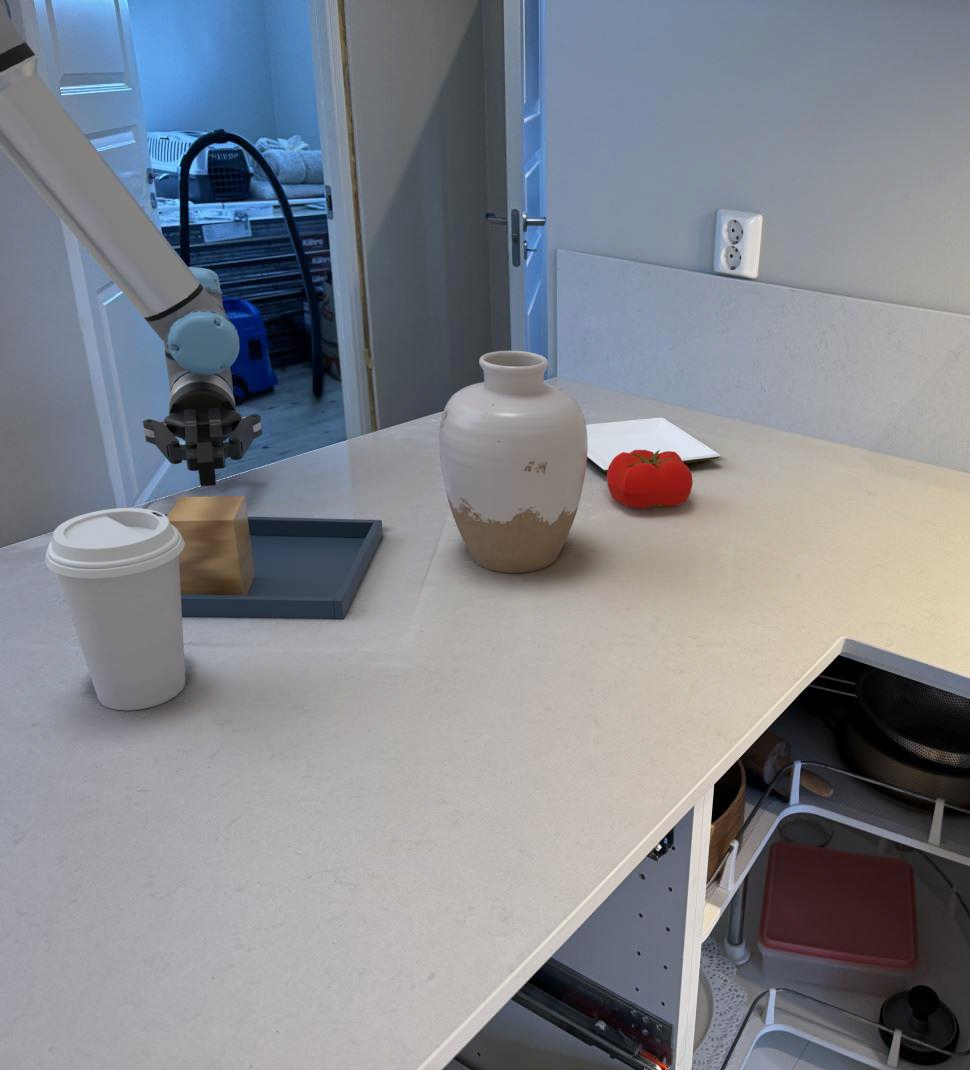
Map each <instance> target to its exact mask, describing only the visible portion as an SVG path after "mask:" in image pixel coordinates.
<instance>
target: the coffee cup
mask: <svg viewBox="0 0 970 1070" xmlns="http://www.w3.org/2000/svg"><path fill="white" fill-rule="evenodd" d="M164 514H165V513H162V512H159V511H157V510H153V509H148V508H141V507H140V508H139V507H118V508H117V507H116V508H108V509H101V510H97V511H92V512H87V513H83V514H81V515H77V516H74V517H72V518H69V519H68V520H65V521H64V522H62V523H61V524H59V525H58V526H57V527H55V529H54V530H53V533H52V537H51V538H52V539H51V541H49V544H47V545H48V546H47V549H46V552H45V558H44V559H45V561H44V564H45V565H46V567H47V569H48V570H50V571H51V572H53V573H54V574H56V577H57V580H58V582H59V586H60V589H61V591H62V595H63V598H64V600H65V604H66V606H67V609H68V612H69V615H70V619H71V622H72V625H73V627H74V631H75V633H76V636H77V639H78V642H79V645H80V648H81V651H82V654H83V657H84V660H85V663H86V666H87V669H88V673H89V675H90V679H91V681H92V684H93V687H94V690H95V694H96V696H97V700H98V701H99V703H100V704H101V705H102V706H103V707H106V708H108V709H111V710H115V711H138V710H145V709H149V708H153V707H156V706H159V705H162V704H164V703H166V702H168V701H170V700H172V699H173V698H175V697H177V696H178V695H179V694H180V693H181V692H182V691H183V689H184V688H185V686H186V664H185V646H184V630H183V629H184V628H183V617H182V608H181V589H180V569H179V554H180V553H181V552H182V550H183V548H184V545H185V543H184V540H183V538H182V536H181V534H180V533H179V531H178V530H177V528H176V527H174V526H173V525H172V524H171V523H170V521H169V519H168V518H167V516H165V515H164Z"/></svg>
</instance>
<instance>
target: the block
mask: <svg viewBox="0 0 970 1070" xmlns="http://www.w3.org/2000/svg"><path fill="white" fill-rule="evenodd" d="M247 509H248V508H247V501H246V496H245V495H228V496H227V495H223V496H179V497H178V498H177V499H176V501H175V503H174V504H173V506H172V507H171V509H170V510H169V511H168V513H167V514H168V515H167V518H168V519H169V521H170V523H171V524H172V525H173V526H174V527H176V528H177V530H178V531H179V533H180V534H181V536H182V538H183V540H184V543H185V545H184V548H183V550H182V552H181V553H180V554H179V569H180V589H181V594H185V595H243V596H247V594H248V592H249V589H250V587H251V584H252V582H253V579H254V577H255V573H254V565H253V557H252V549H251V541H250V533H249V525H248V517H247V516H248V510H247Z"/></svg>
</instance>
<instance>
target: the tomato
mask: <svg viewBox="0 0 970 1070" xmlns="http://www.w3.org/2000/svg"><path fill="white" fill-rule="evenodd" d="M659 451H660V450H658V451H657V452H656V453H655V454H654V453H653V452H651V451H648V450H634V451H632V452H630V453H626V452H622V453H620V454H619V455H617V456H616V457H615V458H614V459H613V460H612V462H611V464H610V465H609V467H608V472H606V482H607V483H606V484H607V489H608V491H609V494H610V496H611V498H612V499H613V500H615V502H618V503H621V504H623V505H624V506H625V507H627V508H629V509H638V510H644V509H649V508H652V507H654V506H659V507H662V508H673V507H676V506H678V505H682V504H684V503H685V502H686V501H688V499H689V497H690V495H691V493H692V488H693V485H694V483H693V482H694V481H693V474H692V471H691V470H690V469H689V466H688V465H687V464H684V463H683V461H682V460H681V458H680V456H679V455H678V454H677V453H676V452H672V451H666V452H662V453H660V454H658V453H659Z"/></svg>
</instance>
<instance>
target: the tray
mask: <svg viewBox="0 0 970 1070" xmlns="http://www.w3.org/2000/svg"><path fill="white" fill-rule="evenodd" d="M163 514H164V515H165V516H167V515H168V514H169V513H163ZM247 517H248V525H249V533H250V541H251V549H252V557H253V565H254V573H255V577H254V579H253V582H252V584H251V587H250V589H249V592H248V594H247V596H243V595H185V594H181V608H182V618H215V619H216V618H218V619H219V618H220V619H222V618H223V619H225V618H226V619H285V620H286V619H287V620H288V619H289V620H290V619H291V620H293V619H294V620H298V619H299V620H344V619H345V618H346V615H347V613H348V611H349V610H350V609H349V608H350V607H351V604H352V602H353V600H354V598H355V596H356V594H357V592H358V590H359V587H360V585H361V584H362V582H363V579H364V577H365V575H366V573H367V572H368V568H369V567H370V564H371V562H372V560H373V558H374V556H375V554H376V552H377V549H378V548H379V546H380V543H381V541H382V539H383V536H384V535H383V534H384V533H383V520H382V519H360V518H359V519H358V518H357V519H356V518H355V519H354V518H321V517H320V518H318V517H287V516H286V517H284V516H282V517H280V516H249V515H247Z"/></svg>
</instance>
